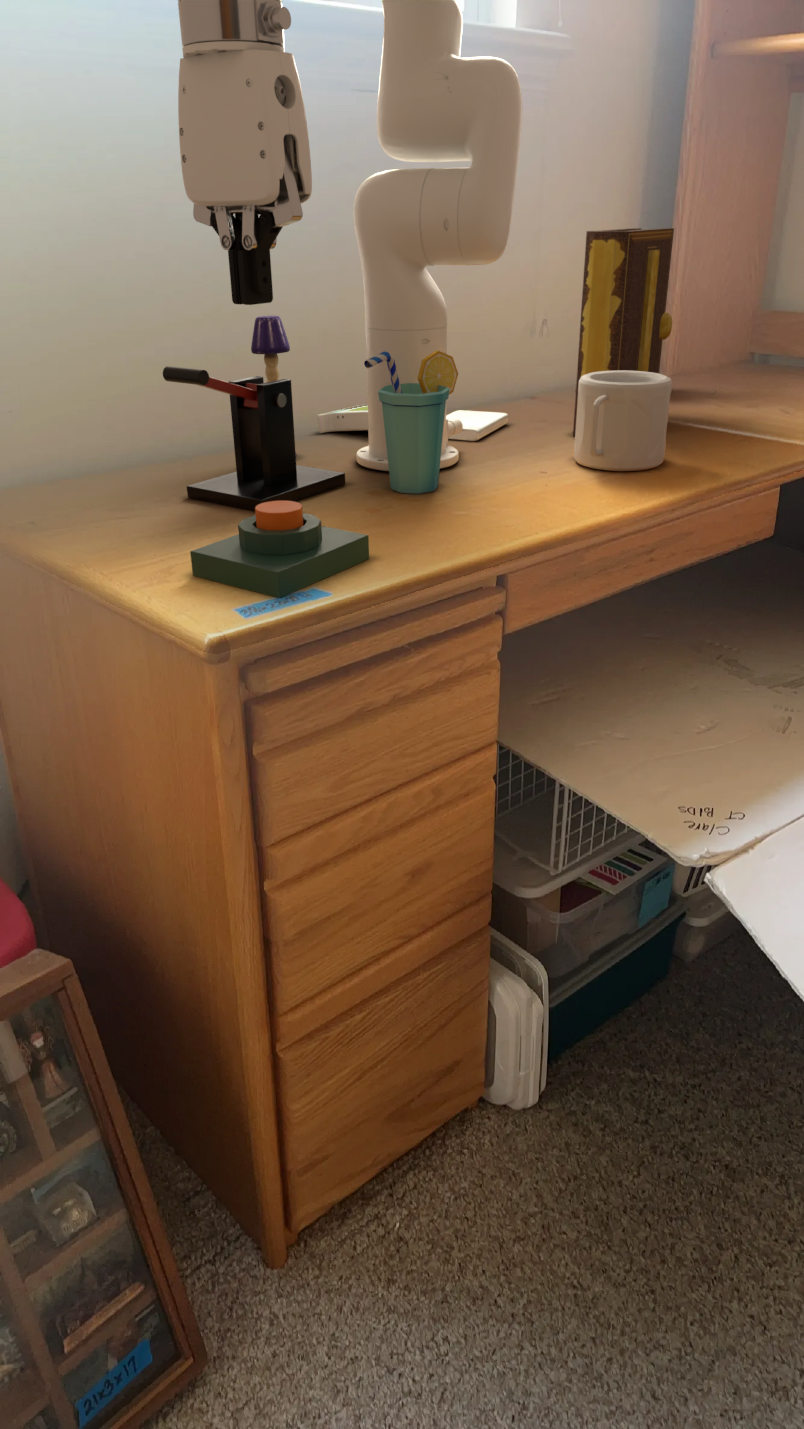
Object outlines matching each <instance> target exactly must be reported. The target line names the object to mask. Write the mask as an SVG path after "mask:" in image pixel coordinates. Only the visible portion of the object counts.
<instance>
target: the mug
mask: <svg viewBox="0 0 804 1429" xmlns="http://www.w3.org/2000/svg"><path fill="white" fill-rule="evenodd" d="M672 387H673V381H672V379H671V377H670V376H668V375H666V374H662V373H660V372H659V373H654V372H646V371H628V370H614V371H599V372H593V373H588V374H586V375H583V376H582V377H581V378H580V380H579V385H578V402H577V417H576V432H575V436H574V449H573V459H574V460H575V462H577V464H579V465H581V466H583V467H586V468H590V469H594V470H595V469H596V470H603V471H613V472H634V471H645V470H650V469H654V468H656V467H659V466H660V465H661V464H663V462H664V459H665V452H666V442H667V428H668V420H669V409H670V402H671V401H670V399H671V394H672Z"/></svg>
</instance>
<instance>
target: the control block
mask: <svg viewBox="0 0 804 1429" xmlns="http://www.w3.org/2000/svg"><path fill="white" fill-rule="evenodd" d="M237 531H238V534H234V535H232V536H229V537H227V538H224V539H221V540H218V541H215V542H211V543H209V544H206V545H204V546H201V547H198V548H195V549H192V550H190V552H189V553H190V562H191V570H192V576H193V577H197V578H200V579H201V578H202V579H204V580H205V579H206V580H209V581H213V582H216V583H219V584H223V585H229V586H233V587H236V588H240V589H244V590H248V591H251V592H256V593H259V594H263V595H267V596H271V597H275V598H279V599H281V598H283V597H286V596H288V595H291V594H292V593H295V592H297V591H300V590H302V589H304V588H306V587H308V586H311V585H312V584H315V583H317V582H319V581H322V580H324V579H326V578H328V577H331V576H333V575H336V574H337V573H340V572H342V571H345V570H347V569H349V568H351V567H354V566H356V565H359V564H361V563H363V562H365V561H367V560H370V537H369V534H365V533H362V532H361V533H360V532H356V531H351V530H350V531H349V530H345V529H340V528H335V527H330V526H325V525H322V520H321V519H320V518H319V517H317V516H316V515H314V514H310V513H305V512H303V526H301V527H298V528H295V529H288V530H264V529H259V528H257V526H256V514H254V515H252V516H249V517H246V518H242V519H241V521H240V522H239V523H238V524H237Z"/></svg>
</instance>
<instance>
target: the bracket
mask: <svg viewBox="0 0 804 1429" xmlns="http://www.w3.org/2000/svg"><path fill="white" fill-rule="evenodd" d="M228 382H229V383H232V384H235V385H238V386H242V387H245V388H246V384H247V383H251V384H257V385H256V386H257V399H258V410H256V409H252V408H248V407H245V406H243V405H244V398H240V397H237V396H233V395H230V394H229V404H230V415H231V425H232V426H231V427H232V434H233V435H232V436H233V449H234V457H235V458H234V460H235V469H236V470H235V471H233V472H230V473H226V474H223V475H220V476H216V477H213V478H209V479H206V480H203V481H199V482H196V483H192V484H189V485H186V496H187V498H188V499H193V500H194V499H195V500H197V501H198V500H199V501H202V502H203V501H204V502H208V503H213V504H217V505H218V504H219V505H223V506H227V507H228V506H229V507H233V508H238V509H243V510H249V511H254V512H255V507H256V506H257V505H259V504H261V503H265V502H269V501H294V502H297V501H300V500H303V499H306V498H308V497H312V496H314V495H318V494H320V493H323V492H326V491H329V490H333V489H335V488H338V487H341V486H344V485H346V473H345V472H342V471H336V470H329V469H323V468H316V467H311V466H304V465H298V464H297V457H296V455H297V452H296V438H295V437H296V436H295V423H294V421H295V420H294V407H293V406H294V405H293V391H292V390H293V389H292V380H291V379H288V378H282V379H278V380H277V381H272V382H267V381H266V382H264V376H260V375H256V376H249V377H243V378H240V379H233V380H229V381H228ZM295 452H296V453H295Z"/></svg>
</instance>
